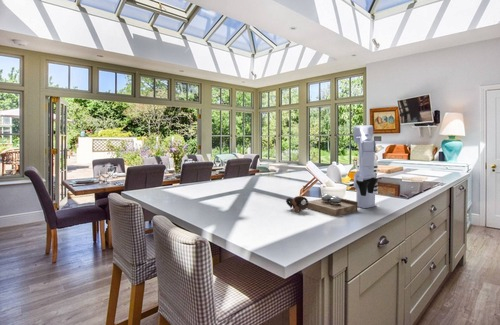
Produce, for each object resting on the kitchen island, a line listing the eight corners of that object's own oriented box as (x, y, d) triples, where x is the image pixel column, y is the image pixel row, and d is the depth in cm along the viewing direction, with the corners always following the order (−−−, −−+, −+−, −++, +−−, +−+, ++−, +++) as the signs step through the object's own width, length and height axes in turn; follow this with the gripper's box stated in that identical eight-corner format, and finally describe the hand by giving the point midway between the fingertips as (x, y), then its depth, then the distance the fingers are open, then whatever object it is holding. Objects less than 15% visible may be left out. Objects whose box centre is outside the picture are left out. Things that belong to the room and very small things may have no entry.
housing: (327, 202, 163) (327, 195, 162) (357, 210, 146) (357, 201, 145) (305, 207, 154) (305, 199, 154) (335, 215, 137) (335, 206, 137)
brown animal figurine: (309, 209, 153) (311, 197, 148) (304, 221, 146) (306, 209, 141) (287, 201, 157) (289, 190, 152) (281, 213, 150) (283, 201, 145)
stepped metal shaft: (335, 208, 151) (335, 195, 150) (343, 210, 146) (343, 197, 145) (327, 209, 149) (328, 196, 148) (335, 212, 144) (335, 198, 143)
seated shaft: (326, 206, 156) (326, 193, 155) (333, 208, 152) (333, 194, 151) (319, 207, 153) (319, 194, 153) (326, 209, 149) (326, 196, 148)
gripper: (365, 164, 146) (365, 190, 147) (352, 166, 136) (351, 195, 137) (380, 165, 141) (379, 192, 142) (367, 168, 131) (366, 197, 132)
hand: (366, 194), depth 139 cm, fingers open, 7 cm apart
